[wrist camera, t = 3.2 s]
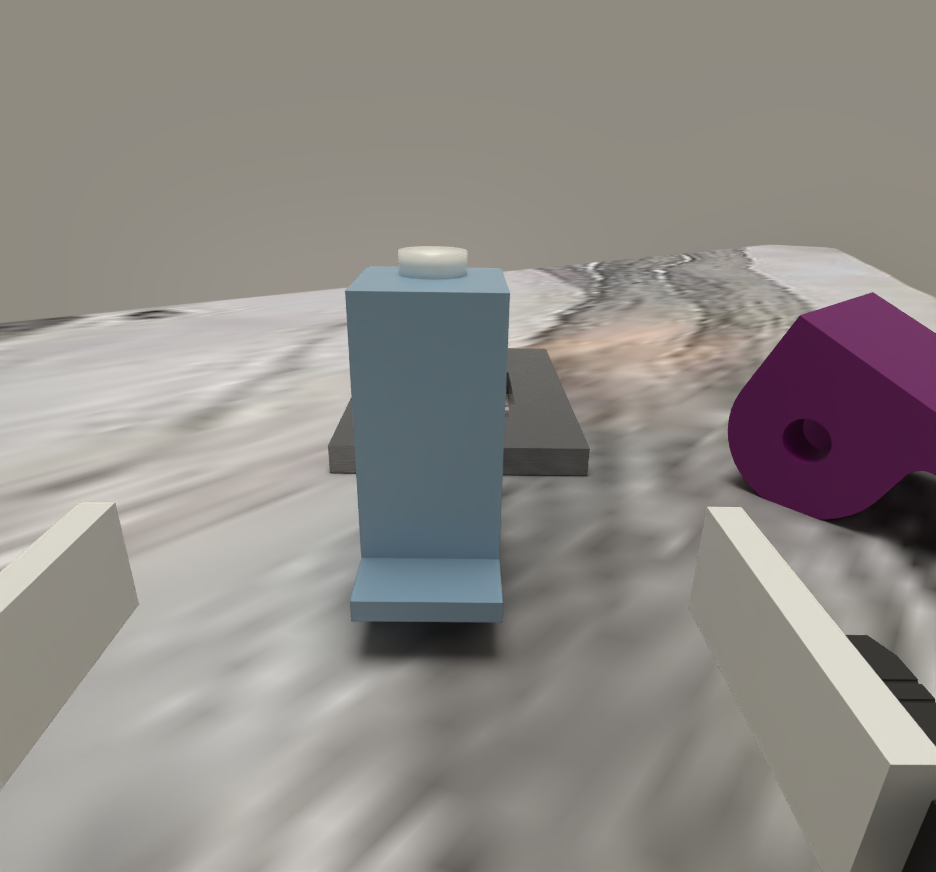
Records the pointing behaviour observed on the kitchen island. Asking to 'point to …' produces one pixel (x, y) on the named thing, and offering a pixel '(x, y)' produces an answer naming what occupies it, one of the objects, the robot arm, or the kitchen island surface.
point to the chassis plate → (512, 423)
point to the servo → (428, 436)
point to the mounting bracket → (839, 409)
